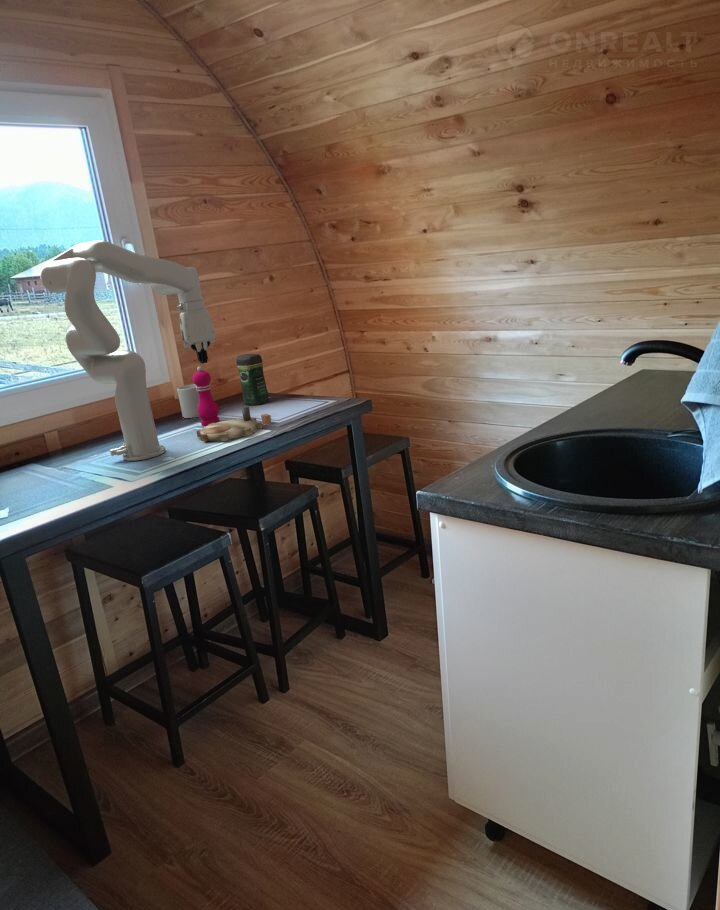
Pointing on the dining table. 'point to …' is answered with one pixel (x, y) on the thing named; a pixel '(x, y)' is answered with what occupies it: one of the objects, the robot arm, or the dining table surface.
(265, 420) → the index marker
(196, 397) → the mug
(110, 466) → the dining table surface
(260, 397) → the coffee jar
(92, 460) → the dining table surface
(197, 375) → the pepper mill
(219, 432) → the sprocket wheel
